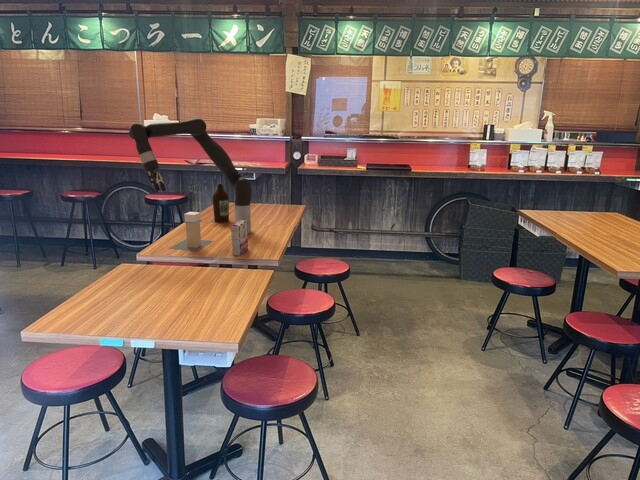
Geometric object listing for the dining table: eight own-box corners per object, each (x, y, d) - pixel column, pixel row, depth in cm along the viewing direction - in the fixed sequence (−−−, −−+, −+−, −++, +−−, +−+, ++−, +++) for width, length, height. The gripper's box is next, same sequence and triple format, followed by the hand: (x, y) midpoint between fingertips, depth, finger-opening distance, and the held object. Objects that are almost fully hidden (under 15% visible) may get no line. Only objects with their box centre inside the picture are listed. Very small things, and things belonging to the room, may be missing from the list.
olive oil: (210, 220, 323) (208, 183, 316) (224, 218, 330) (222, 181, 323) (219, 223, 315) (217, 185, 308) (233, 221, 322) (231, 183, 315)
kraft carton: (192, 244, 267) (190, 221, 263) (201, 245, 265) (199, 221, 262) (187, 247, 261) (185, 223, 258) (196, 247, 260) (195, 224, 257)
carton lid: (190, 220, 263) (189, 211, 262) (200, 221, 262) (200, 212, 260) (184, 223, 258) (184, 214, 256) (195, 224, 256) (194, 214, 255)
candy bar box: (239, 249, 262) (238, 219, 258) (248, 250, 261) (247, 220, 257) (231, 255, 252) (230, 224, 247) (240, 256, 251) (239, 225, 246)
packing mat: (186, 240, 277) (186, 238, 277) (214, 242, 273) (214, 241, 273) (168, 250, 259) (168, 248, 258) (197, 253, 255) (197, 251, 255)
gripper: (150, 158, 246) (163, 188, 247) (161, 159, 260) (172, 188, 261) (137, 163, 247) (149, 193, 248) (148, 165, 261) (159, 193, 262)
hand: (161, 190), depth 255 cm, fingers open, 8 cm apart
